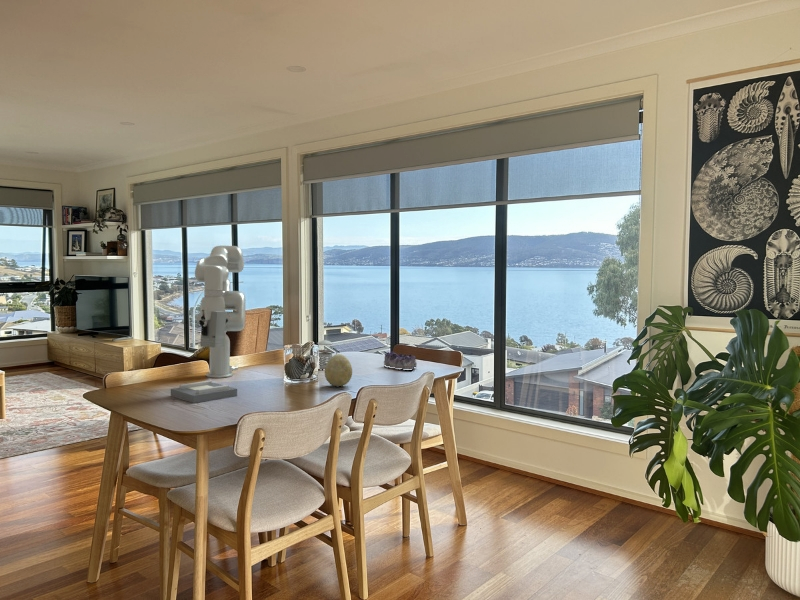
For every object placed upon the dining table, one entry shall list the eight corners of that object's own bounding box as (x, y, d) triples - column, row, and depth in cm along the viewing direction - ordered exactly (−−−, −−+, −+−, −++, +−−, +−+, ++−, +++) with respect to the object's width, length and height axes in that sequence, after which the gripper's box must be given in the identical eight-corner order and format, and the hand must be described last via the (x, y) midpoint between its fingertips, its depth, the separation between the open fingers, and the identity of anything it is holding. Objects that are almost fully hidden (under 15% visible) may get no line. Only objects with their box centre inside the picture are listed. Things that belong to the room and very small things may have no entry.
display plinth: (213, 389, 272) (213, 379, 271) (237, 395, 260) (237, 385, 260) (170, 395, 256) (170, 385, 256) (194, 403, 245) (194, 391, 244)
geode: (377, 368, 337) (378, 350, 338) (388, 368, 347) (389, 350, 348) (409, 371, 327) (410, 352, 328) (420, 371, 337) (421, 352, 338)
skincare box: (199, 346, 266) (200, 310, 265) (211, 345, 272) (211, 309, 272) (215, 348, 262) (215, 310, 261) (226, 346, 269) (226, 310, 268)
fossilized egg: (324, 383, 291) (325, 352, 290) (352, 384, 292) (352, 352, 291) (323, 389, 278) (324, 356, 277) (351, 389, 279) (352, 356, 278)
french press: (318, 366, 337) (318, 321, 336) (338, 367, 335) (339, 321, 334) (313, 369, 327) (313, 322, 326) (334, 370, 326) (335, 323, 324)
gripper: (225, 293, 275) (225, 333, 276) (190, 294, 262) (190, 335, 263) (235, 294, 271) (235, 334, 271) (200, 294, 257) (199, 336, 258)
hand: (213, 334), depth 267 cm, fingers closed on skincare box, 7 cm apart
